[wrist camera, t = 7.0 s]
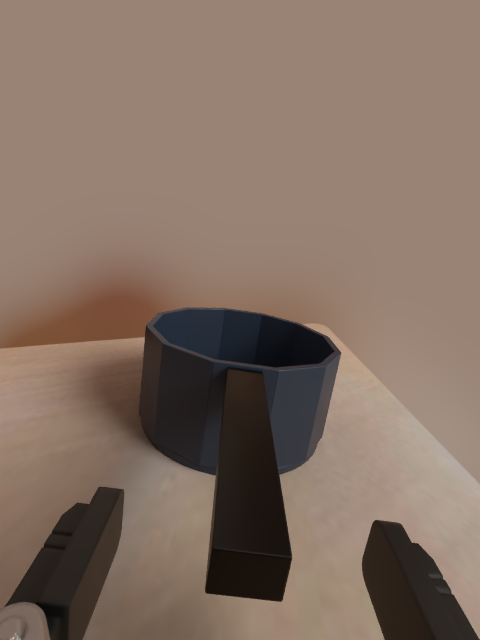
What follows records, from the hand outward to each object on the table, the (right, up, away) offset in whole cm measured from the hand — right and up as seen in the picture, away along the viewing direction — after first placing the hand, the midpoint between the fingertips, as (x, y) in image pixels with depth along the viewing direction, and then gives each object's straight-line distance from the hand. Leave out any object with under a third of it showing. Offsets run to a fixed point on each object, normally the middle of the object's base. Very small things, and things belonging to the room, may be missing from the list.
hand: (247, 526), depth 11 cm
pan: (-1, -4, +14) cm, 14 cm away
